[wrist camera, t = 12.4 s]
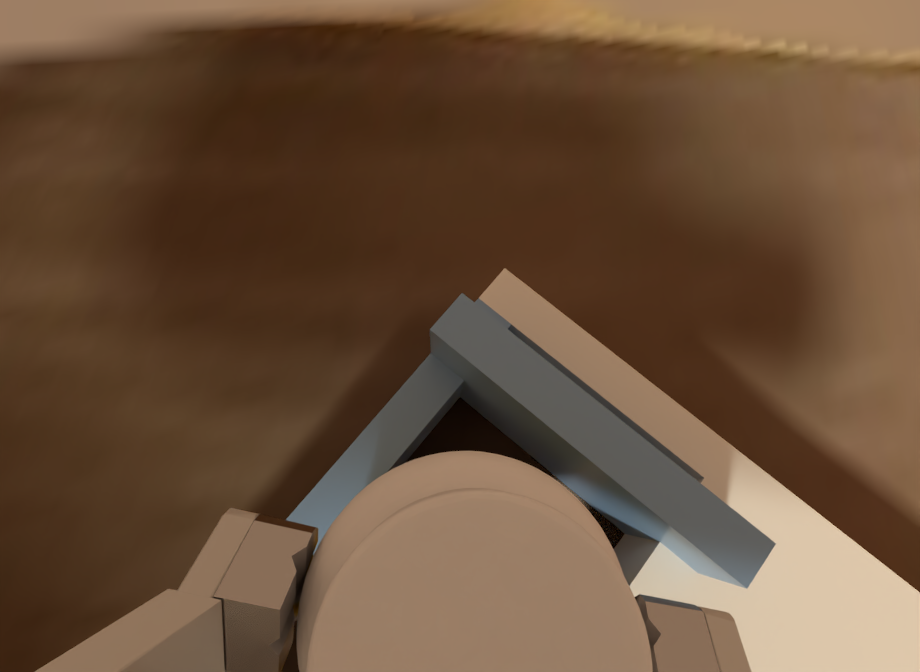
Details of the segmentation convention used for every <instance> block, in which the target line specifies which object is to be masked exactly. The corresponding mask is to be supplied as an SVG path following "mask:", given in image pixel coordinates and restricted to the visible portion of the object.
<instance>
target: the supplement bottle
mask: <svg viewBox="0 0 920 672" xmlns="http://www.w3.org/2000/svg"><path fill="white" fill-rule="evenodd" d="M296 641H297V658H298V667H299V672H653V666H652V657H651V649H650V644H649V640H648V635H647V631H646V626H645V623H644V620H643V617H642V614H641V611H640V608H639V606H638V604H637V602H636V599H635V597H634V595H633V593H632V591H631V588H630V586H629V585H628V583H627V581H626V579H625V577H624V575H623V571H622V568H621V566H620V563H619V561H618V558H617V556H616V554H615V551H614V549H613V548H612V546H611V544H610V542H609V540H608V538H607V536H606V535H605V533H604V531H603V529H602V528H601V526H600V525H599V524H598V522H597V521H596V519H595V518H594V517H593V516H592V514H591V513H590V512H589V510H588V509H587V508H586V507H585V506H584V505H583V503H581V502H580V501H579V500H578V499H577V498H576V497H575V496H574V495H573V494H572V493H571V492H570V491H569V490H568V489H566V488H565V487H564V486H563V485H562V484H561V483H559V482H558V481H556V480H555V479H554V478H552V477H551V476H549V475H547V474H546V473H544V472H542V471H541V470H539V469H537V468H535V467H533V466H531V465H529V464H527V463H524V462H522V461H519V460H516V459H513V458H510V457H506V456H503V455H499V454H494V453H488V452H481V451H450V452H443V453H437V454H432V455H427V456H424V457H421V458H417V459H414V460H411V461H409V462H406V463H404V464H402V465H400V466H398V467H395V468H393V469H392V470H390V471H388V472H386V473H385V474H383V475H381V476H380V477H378V478H377V479H376V480H374V481H373V482H371V483H370V484H369V485H367V486H366V487H365V488H364V489H363V490H362V491H361V492H359V493H358V494H357V495H356V496H355V497H354V498H353V499H352V500H351V501H350V503H349V504H348V505H347V506H346V507H345V508H344V509H343V510H342V512H341V513H340V514H339V515H338V517H337V518H336V519H335V520H334V521H333V523H332V524H331V526H330V527H329V529H328V530H327V532H326V534H325V535H324V537H323V538H322V540H321V542H320V543H319V545H318V547H317V549H316V551H315V553H314V556H313V558H312V561H311V563H310V566H309V569H308V571H307V574H306V577H305V581H304V585H303V589H302V593H301V597H300V602H299V609H298V616H297V632H296Z"/></svg>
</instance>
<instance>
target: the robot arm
mask: <svg viewBox="0 0 920 672" xmlns="http://www.w3.org/2000/svg"><path fill="white" fill-rule="evenodd" d="M317 543H318V528H317V527H313V526H308V525H304V524H300V523H296V522H292V521H287V520H283V519H279V518H275V517H271V516H266V515H262V514H258V513H253V512H249V511H244V510H240V509H235V508H230V509H229V510H228V511H227V512H226V513H224V514H223V516H222V517H221V519H220V520H219V522H218V524H217V525H216V527H215V529H214V530H213V532H212V534H211V535H210V537H209V539H208V540H207V542H206V544H205V545H204V547H203V549H202V550H201V552H200V553H199V555H198V557H197V558H196V560H195V562H194V563H193V565H192V567H191V568H190V570H189V572H188V573H187V575H186V577H185V578H184V580H183V582H182V583H181V585H180V586H179V588H178V590H173V589H167V590H165V591H163V592H162V593H160V594H159V595H157V596H155V597H154V598H152V599H151V600H149V601H147V602H146V603H144V604H143V605H141V606H139V607H138V608H136V609H135V610H133V611H131V612H130V613H128V614H126V615H125V616H123V617H122V618H120V619H118V620H117V621H115V622H114V623H112V624H110V625H109V626H107V627H106V628H104V629H102V630H101V631H99V632H98V633H96V634H94V635H93V636H91V637H89V638H88V639H86V640H85V641H83V642H81V643H80V644H78V645H77V646H75V647H73V648H72V649H70V650H69V651H67V652H65V653H64V654H62V655H60V656H59V657H57V658H56V659H54V660H52V661H51V662H49V663H48V664H46V665H44V666H43V667H41V668H40V669H38V670H36V671H35V672H225V671H229V672H281V671H282V669H283V666H284V663H285V661H286V658H287V656H288V653H289V650H290V648H291V645H292V642H293V635H294V622H295V621H296V620H297V616H298V609H299V602H300V597H301V593H302V589H303V585H304V581H305V577H306V574H307V571H308V569H309V566H310V563H311V561H312V558H313V556H314V555H313V553H314V550H315V548H316V545H317ZM635 599H636V602H637V604H638V606H639V608H640V611H641V614H642V617H643V620H644V623H645V626H646V631H647V635H648V640H649V644H650V649H651V657H652V666H653V672H752V671H751V668H750V665H749V662H748V659H747V656H746V653H745V650H744V647H743V644H742V641H741V638H740V635H739V632H738V629H737V626H736V623H735V620H734V618H733V617H732V616H731V614H730V613H728V612H724V611H719V610H714V609H709V608H705V607H700V606H696V605H693V604H688V603H683V602H678V601H673V600H668V599H663V598H657V597H652V596H647V595H642V594H639V595H637V596H636V597H635Z"/></svg>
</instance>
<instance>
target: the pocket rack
mask: <svg viewBox="0 0 920 672" xmlns="http://www.w3.org/2000/svg"><path fill="white" fill-rule="evenodd" d="M430 348H431V353H430V354H429V356H428V357H427V358H426V359H425V360H424V361H423V363H422V364H421V365H420V366H419V367H418V368H417V369H416V371H415V372H414V373H413V374H412V375H411V376H410V378H409V379H408V380H407V381H406V382H405V383H404V384H403V386H402V387H401V388H400V389H399V390H398V391H397V392H396V394H395V395H394V396H393V397H392V398H391V399H390V401H389V402H388V403H387V404H386V405H385V406H384V407H383V409H382V410H381V411H380V412H379V413H378V414H377V415H376V417H375V418H374V419H373V420H372V421H371V422H370V424H369V425H368V426H367V427H366V428H365V429H364V430H363V432H362V433H361V434H360V435H359V436H358V437H357V438H356V440H355V441H354V442H353V443H352V444H351V445H350V447H349V448H348V449H347V450H346V451H345V452H344V453H343V455H342V456H341V457H340V458H339V459H338V460H337V461H336V463H335V464H334V465H333V466H332V467H331V468H330V470H329V471H328V472H327V473H326V474H325V475H324V476H323V478H322V479H321V480H320V481H319V482H318V483H317V484H316V486H315V487H314V488H313V489H312V490H311V491H310V493H309V494H308V495H307V496H306V497H305V498H304V499H303V501H302V502H301V503H300V504H299V505H298V506H297V508H296V509H295V510H294V511H293V512H292V513H291V514H290V516H289V517H288V518H287V519H286V520H287V521H292V522H296V523H300V524H304V525H308V526H313V527H317V528H318V543H317V545H316V548H315V550H314V553H315V551H316V549H317V547H318V545H319V543H320V542H321V540H322V538H323V537H324V535H325V534H326V532H327V530H328V529H329V527H330V526H331V524H332V523H333V521H334V520H335V519H336V518H337V517H338V515H339V514H340V513H341V512H342V510H343V509H344V508H345V507H346V506H347V505H348V504H349V503H350V501H351V500H352V499H353V498H354V497H355V496H356V495H357V494H358V493H359V492H361V491H362V490H363V489H364V488H365V487H366V486H367V485H369V484H370V483H371V482H373V481H374V480H376V479H377V478H378V477H380V476H381V475H383V474H385V473H386V472H388V471H390V470H392V469H393V468H395V467H398V466H400V465H402V464H404V463H405V462H406V461H407V460H408V459H409V457H410V456H411V455H412V454H413V453H414V451H415V450H416V449H417V448H418V447H419V445H420V444H421V443H422V442H423V441H424V440H425V438H426V437H427V436H428V435H429V434H430V432H431V431H432V430H433V429H434V428H435V426H436V425H437V424H438V423H439V422H440V420H441V419H442V418H443V417H444V416H445V414H446V413H447V412H448V411H449V410H450V408H451V407H452V406H453V405H454V404H455V402H456V401H457V400H458V399H459V398H462V399H463V400H464V401H465V402H466V403H468V404H469V405H470V406H471V407H472V408H474V409H475V410H476V411H477V412H478V413H480V414H481V415H482V416H483V417H484V418H486V419H487V420H488V421H489V422H490V423H492V424H493V425H494V426H495V427H497V428H498V429H499V430H500V431H501V432H503V433H504V434H505V435H506V436H507V437H509V438H510V439H511V440H512V441H513V442H515V443H516V444H517V445H518V446H519V447H521V448H522V449H523V450H524V451H525V452H527V453H528V454H529V455H530V456H531V457H533V458H534V459H535V460H536V461H538V462H539V463H540V464H541V465H542V466H544V467H545V468H546V469H547V470H548V471H550V472H551V473H552V474H553V475H554V476H556V477H557V478H558V479H559V480H560V481H562V482H563V483H564V484H565V485H566V486H568V487H569V488H570V489H571V490H572V491H574V492H575V493H576V494H577V495H579V496H580V497H581V498H582V499H583V500H585V501H586V502H587V503H588V504H589V505H591V506H592V507H593V508H594V509H595V510H597V511H598V512H599V513H600V514H601V515H603V516H604V517H605V518H606V519H607V520H609V521H610V522H611V523H612V524H613V525H615V526H616V527H617V528H618V529H619V530H621V531H622V532H623V533H624V535H623V537H622V538H621V540H620V541H619V542H618V544H617V545H616V547H615V548H614V551H615V554H616V556H617V558H618V561H619V563H620V566H621V568H622V571H623V575H624V577H625V579H626V581H627V583H628V585H629V586H630V588H631V591H632V593H633V595H634V597H636V596H637V595H639V594H642V595H647V596H652V597H657V598H663V599H668V600H673V601H678V602H683V603H688V604H693V605H696V606H700V607H705V608H709V609H714V610H719V611H724V612H728V613H730V614H731V616H732V617H733V618H734V620H735V623H736V626H737V629H738V632H739V635H740V638H741V641H742V644H743V647H744V650H745V653H746V656H747V659H748V662H749V665H750V668H751V671H752V672H920V592H918V591H917V590H916V589H915V588H913V587H912V586H911V585H909V584H908V583H907V582H906V581H904V580H903V579H902V578H901V577H899V576H898V575H897V574H895V573H894V572H893V571H892V570H890V569H889V568H888V567H886V566H885V565H884V564H883V563H881V562H880V561H879V560H878V559H876V558H875V557H874V556H872V555H871V554H870V553H869V552H867V551H866V550H865V549H863V548H862V547H861V546H860V545H858V544H857V543H856V542H855V541H853V540H852V539H851V538H849V537H848V536H847V535H846V534H844V533H843V532H842V531H840V530H839V529H838V528H837V527H835V526H834V525H833V524H832V523H830V522H829V521H828V520H826V519H825V518H824V517H823V516H821V515H820V514H819V513H817V512H816V511H815V510H814V509H812V508H811V507H810V506H808V505H807V504H806V503H805V502H803V501H802V500H801V499H800V498H798V497H797V496H796V495H794V494H793V493H792V492H791V491H789V490H788V489H787V488H785V487H784V486H783V485H782V484H780V483H779V482H778V481H777V480H775V479H774V478H773V477H771V476H770V475H769V474H768V473H766V472H765V471H764V470H762V469H761V468H760V467H759V466H757V465H756V464H755V463H754V462H752V461H751V460H750V459H748V458H747V457H746V456H745V455H743V454H742V453H741V452H739V451H738V450H737V449H736V448H734V447H733V446H732V445H731V444H729V443H728V442H727V441H725V440H724V439H723V438H722V437H720V436H719V435H718V434H716V433H715V432H714V431H713V430H711V429H710V428H709V427H707V426H706V425H705V424H704V423H702V422H701V421H700V420H699V419H697V418H696V417H695V416H693V415H692V414H691V413H690V412H688V411H687V410H686V409H684V408H683V407H682V406H681V405H679V404H678V403H677V402H676V401H674V400H673V399H672V398H670V397H669V396H668V395H667V394H665V393H664V392H663V391H661V390H660V389H659V388H658V387H656V386H655V385H654V384H653V383H651V382H650V381H649V380H647V379H646V378H645V377H644V376H642V375H641V374H640V373H638V372H637V371H636V370H635V369H633V368H632V367H631V366H630V365H628V364H627V363H626V362H624V361H623V360H622V359H621V358H619V357H618V356H617V355H615V354H614V353H613V352H612V351H610V350H609V349H608V348H607V347H605V346H604V345H603V344H601V343H600V342H599V341H598V340H596V339H595V338H594V337H592V336H591V335H590V334H589V333H587V332H586V331H585V330H583V329H582V328H581V327H580V326H578V325H577V324H576V323H575V322H573V321H572V320H571V319H569V318H568V317H567V316H566V315H564V314H563V313H562V312H560V311H559V310H558V309H557V308H555V307H554V306H553V305H552V304H550V303H549V302H548V301H546V300H545V299H544V298H543V297H541V296H540V295H539V294H537V293H536V292H535V291H534V290H532V289H531V288H530V287H529V286H527V285H526V284H525V283H523V282H522V281H521V280H520V279H518V278H517V277H516V276H514V275H513V274H512V273H511V272H509V271H508V270H507V269H506V268H504V269H503V271H502V272H501V273H500V274H499V275H498V276H497V277H496V279H495V280H494V281H493V282H492V283H491V284H490V285H489V287H488V288H487V289H486V290H485V291H484V292H483V294H482V295H481V296H480V297H479V298H478V299H477V300H476V302H475V303H474V302H473V301H472V300H471V299H469V298H468V297H467V296H466V295H464V294H463V293H461V295H460V296H459V297H458V298H457V299H456V300H455V301H454V302H453V304H452V305H451V306H450V307H449V308H448V309H447V310H446V312H445V313H444V314H443V315H442V316H441V317H440V318H439V320H438V321H437V322H436V323H435V324H434V325H433V326H432V327H431V329H430ZM314 553H313V555H314ZM225 672H229V671H225Z"/></svg>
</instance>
